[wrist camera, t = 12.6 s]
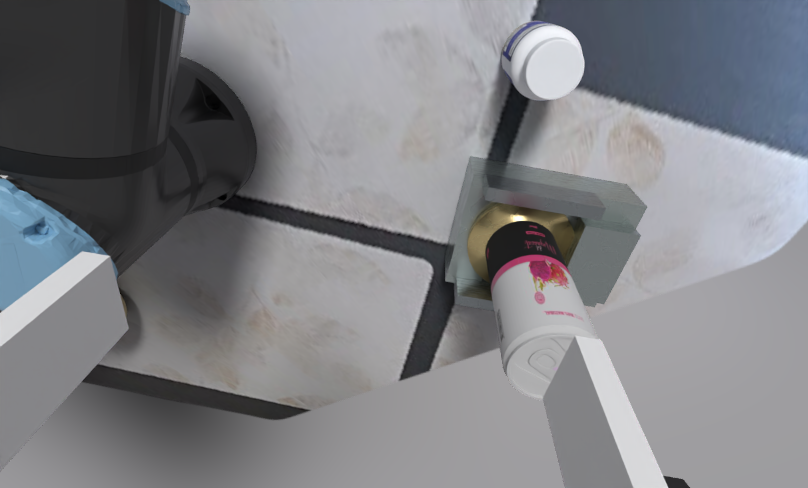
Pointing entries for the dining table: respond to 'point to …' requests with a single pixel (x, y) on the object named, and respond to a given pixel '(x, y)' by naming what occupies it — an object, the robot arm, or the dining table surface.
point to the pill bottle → (543, 60)
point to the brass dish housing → (554, 209)
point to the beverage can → (533, 304)
